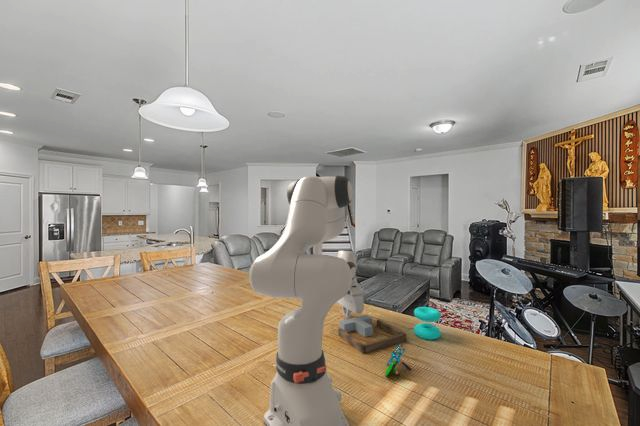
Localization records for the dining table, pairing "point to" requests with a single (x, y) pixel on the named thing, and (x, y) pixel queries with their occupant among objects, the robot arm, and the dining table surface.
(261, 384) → the dining table surface
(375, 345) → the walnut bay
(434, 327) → the donuts
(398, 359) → the stick construction toy
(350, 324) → the T-block
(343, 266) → the robot arm
